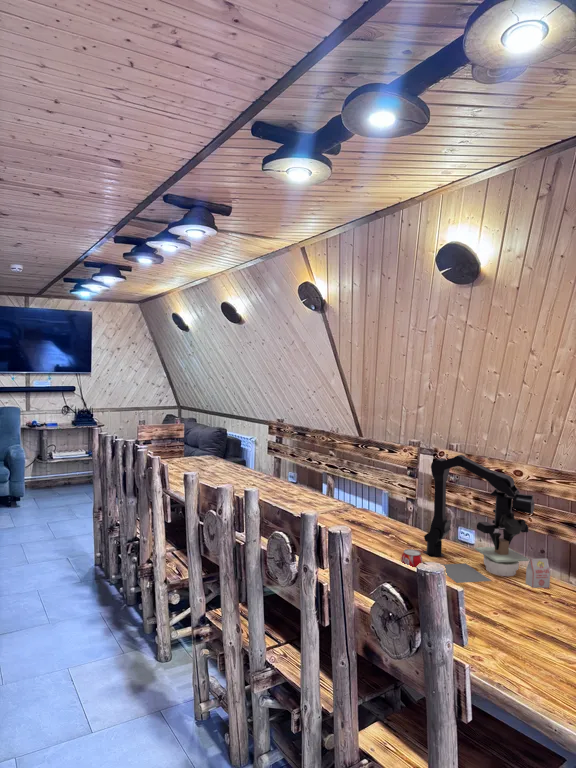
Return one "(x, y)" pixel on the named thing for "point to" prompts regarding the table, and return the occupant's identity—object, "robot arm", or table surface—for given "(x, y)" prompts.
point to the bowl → (501, 567)
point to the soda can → (411, 557)
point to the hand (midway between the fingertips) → (501, 549)
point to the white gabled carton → (538, 573)
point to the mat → (464, 573)
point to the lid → (502, 552)
